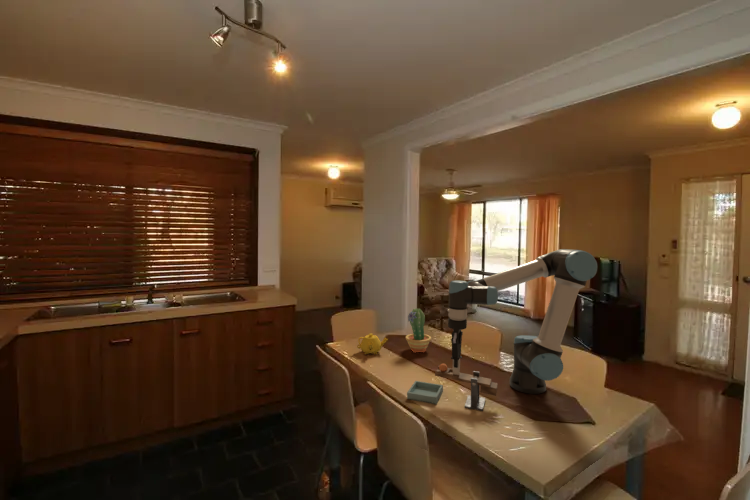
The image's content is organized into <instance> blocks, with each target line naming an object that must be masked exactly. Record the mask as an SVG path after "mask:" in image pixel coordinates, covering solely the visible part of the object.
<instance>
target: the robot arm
mask: <svg viewBox="0 0 750 500" xmlns="http://www.w3.org/2000/svg"><path fill="white" fill-rule="evenodd" d="M597 273H598V262H597V260H596V259H595V256H594V255H592V253H590V252H587V251H585V250H581V249H568V248H561V249H557V250H553V251H550V252H548V253H546V254H543V255H539V256H537V257H536V258H535V260H532V261H530V262H527V263H524V264H521V265H518V266H515V267H512V268H509V269H507V270H504V271H501V272H498V273H494V274H492V275H490V276H486V277H483V278H479V279H477V280H469V281H466V280H459V279H458V280H451V281H450V282H449V286H448V308H447V310H446V312H448V315H447V316H448V319H447V326H448V328H449V329H451V330H452V332H451V340H450V341H451V342H450V343H451V357H450V360H452V369H453V374H455V375H459V374H460V373H461V372H460V371H461V359H462V358H463V356H462V341H463V331H462V330H466V329H467V326H468V325H467V324H468V320H467V318H468V305H483V306H484V305H485V306H486V305H487V306H491V305H492V306H493V305H496V304H497V303H498V299H499V293H498V292H500V291H502V290H506V289H509V288H511V287H514V286H518V285H520V284H523V283H526V282H530V281H532V280H536V279H539V278H541V277H543V278H545V279H546V278H549V277H553V279H554V281H555V285H554V289H553V291H552V295H551V297H550V300H549V303H548V307H547V310H546V312H545V315H544V319H543V321H542V323H541V327H540V329H539V334H538V335H537V336H536V335H517V336H515V337H514V338H513V339H514V340H513V369H512V373H511V375H510V377H509V386H510V387H511V388H512V389H514V390H516V391H517V392H521V393H525V394H529V395H530V394H531V395H539V394H543V393H545V392H546V391H547V381H549V382H550V381H553V380H555V379H557V378H559V377H560V376H561V374H562V373H563V370H564V362H563V360H562V359H561V358H562V354H563V352H564V351H563V348H562V347H561V345H562V341H563V339H564V336H565V334H566V329H567V327H568V324H569V322H570V321H569V320H570V318H571V316H572V312H573V309H574V306H575V303H576V300H577V297H578V294H579V292H580V290H581V289H584V288H586V285H587V282H588V281H589V280H591V279H593V278H594V277H595V276H596V274H597Z"/></svg>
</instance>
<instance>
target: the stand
mask: <svg viewBox="0 0 750 500" xmlns="http://www.w3.org/2000/svg"><path fill="white" fill-rule="evenodd" d="M480 374H481V373H480V371H478V370H477V371H475V370H473V371H472V375H474V376H475V375H476V376H479V377H481V376H480ZM485 402H486V397H482V396H481V397H480V385H477V379H476V378H471V383H470V394H468V395H467V398H466V401H465V404H464V409H469V410H475V411H480V412H484V408H485Z"/></svg>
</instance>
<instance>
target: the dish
mask: <svg viewBox="0 0 750 500" xmlns="http://www.w3.org/2000/svg"><path fill="white" fill-rule="evenodd" d="M443 392H444V385H443V384H437V383H434V382H433V383H431V382H426V381H419V380H415V381H414V382H413V384H411V387H410V388H409V389H408V390H407V392H406V399H407V400H410V401H417V402H422V403H427V404H433V405H438V402H439V400H440V398H441V396H442V394H443Z"/></svg>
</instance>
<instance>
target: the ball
mask: <svg viewBox="0 0 750 500" xmlns="http://www.w3.org/2000/svg"><path fill="white" fill-rule="evenodd" d="M438 366H439V369H440V371H441V372H446V371H447V369H448V368H449V367H448V366H447V364H446V363H441V364H439V365H438Z"/></svg>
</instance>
